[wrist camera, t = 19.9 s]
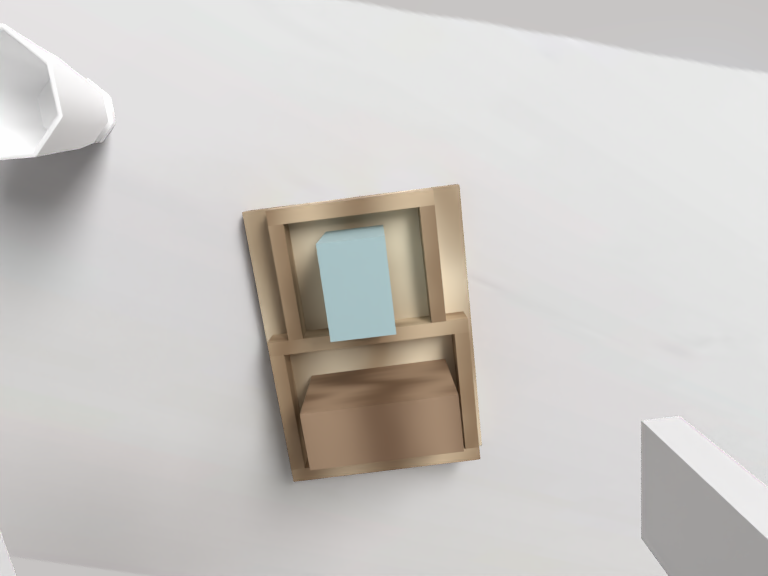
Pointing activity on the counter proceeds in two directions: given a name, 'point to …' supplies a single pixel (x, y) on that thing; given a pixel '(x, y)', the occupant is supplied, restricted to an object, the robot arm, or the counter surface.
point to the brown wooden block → (381, 415)
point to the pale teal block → (356, 283)
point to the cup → (46, 102)
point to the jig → (409, 295)
